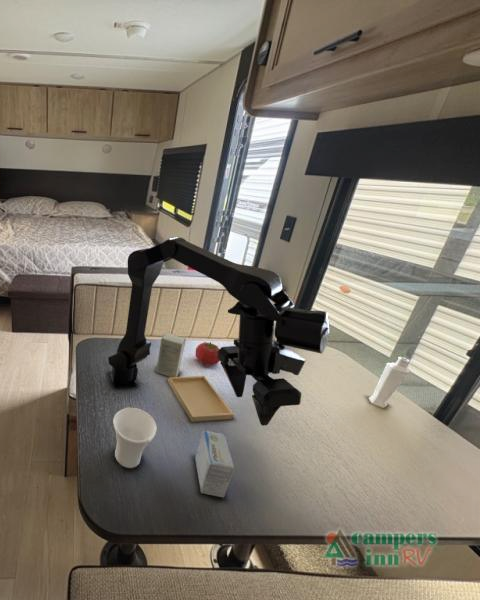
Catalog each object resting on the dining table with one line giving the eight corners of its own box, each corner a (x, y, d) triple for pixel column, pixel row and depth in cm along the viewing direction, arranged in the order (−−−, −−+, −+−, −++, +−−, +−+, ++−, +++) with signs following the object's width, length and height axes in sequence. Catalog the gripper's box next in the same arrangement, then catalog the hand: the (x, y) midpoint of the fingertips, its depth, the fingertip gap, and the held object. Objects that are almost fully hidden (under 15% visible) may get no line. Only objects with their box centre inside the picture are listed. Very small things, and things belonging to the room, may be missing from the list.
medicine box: (223, 499, 58) (236, 468, 54) (199, 493, 59) (210, 463, 55) (215, 462, 65) (225, 433, 61) (194, 458, 66) (202, 429, 62)
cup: (122, 483, 60) (129, 448, 55) (101, 446, 67) (105, 412, 63) (159, 468, 63) (167, 434, 59) (134, 434, 71) (140, 401, 67)
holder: (191, 421, 75) (192, 416, 75) (167, 381, 89) (168, 377, 88) (232, 419, 77) (234, 414, 76) (203, 379, 90) (204, 375, 90)
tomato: (208, 354, 103) (213, 335, 100) (224, 368, 96) (230, 348, 93) (188, 356, 101) (193, 337, 98) (202, 371, 94) (208, 350, 91)
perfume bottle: (388, 402, 86) (415, 359, 79) (388, 410, 83) (417, 366, 76) (367, 394, 88) (392, 351, 82) (366, 401, 85) (392, 358, 79)
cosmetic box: (179, 372, 93) (187, 338, 88) (175, 379, 90) (183, 345, 85) (159, 364, 96) (166, 331, 91) (154, 371, 93) (161, 337, 88)
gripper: (340, 356, 48) (327, 439, 52) (269, 318, 66) (264, 382, 70) (268, 362, 48) (262, 444, 52) (217, 322, 66) (215, 386, 70)
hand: (250, 409), depth 61 cm, fingers open, 9 cm apart
